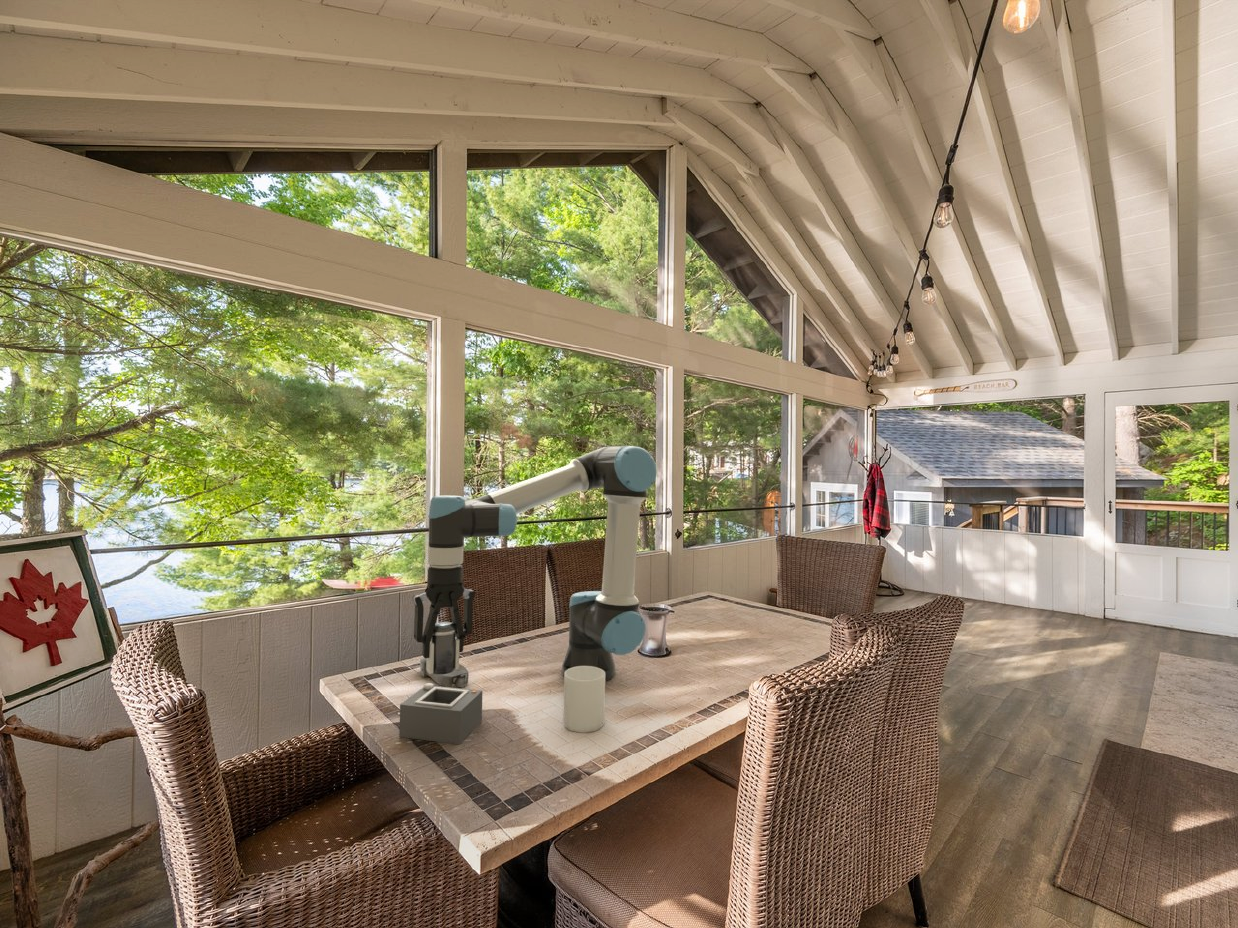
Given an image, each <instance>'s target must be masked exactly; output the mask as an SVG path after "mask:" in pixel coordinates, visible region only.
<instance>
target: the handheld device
mask: <svg viewBox="0 0 1238 928" xmlns="http://www.w3.org/2000/svg"><path fill="white" fill-rule="evenodd" d="M426 661H427V658H424V657H423V658H421V659H420V662H419V669H420V673H421V674H420V675H421V677H423V678H427V677H429V678H431V679H432V680H433V681H434V682H435V683H437V684H438V686H442V687H452V688H465V687H466V686H467V685H468V683H469V676H470V675H469V671H468V669H467V667H465V666H464V665H462V664H460V663H459V669H455V668H454V671H453V672H451V673H448V674H441V675H439V674H429V673H428V672H427V670H426Z"/></svg>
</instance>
